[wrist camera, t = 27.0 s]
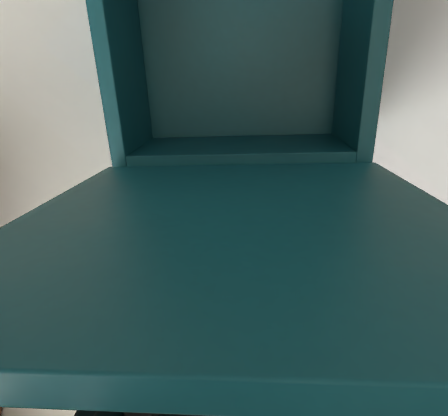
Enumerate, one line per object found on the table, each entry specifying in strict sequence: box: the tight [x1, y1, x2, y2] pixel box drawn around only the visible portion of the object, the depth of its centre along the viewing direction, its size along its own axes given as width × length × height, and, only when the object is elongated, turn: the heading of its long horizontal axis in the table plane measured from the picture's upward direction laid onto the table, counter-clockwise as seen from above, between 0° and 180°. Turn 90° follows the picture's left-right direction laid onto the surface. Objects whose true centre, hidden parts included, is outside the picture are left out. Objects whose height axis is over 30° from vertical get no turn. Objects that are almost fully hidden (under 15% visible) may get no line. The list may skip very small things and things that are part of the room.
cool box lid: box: [0, 163, 448, 416], centre depth 13 cm, size 15×15×5 cm
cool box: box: [86, 0, 394, 167], centre depth 20 cm, size 14×15×7 cm
